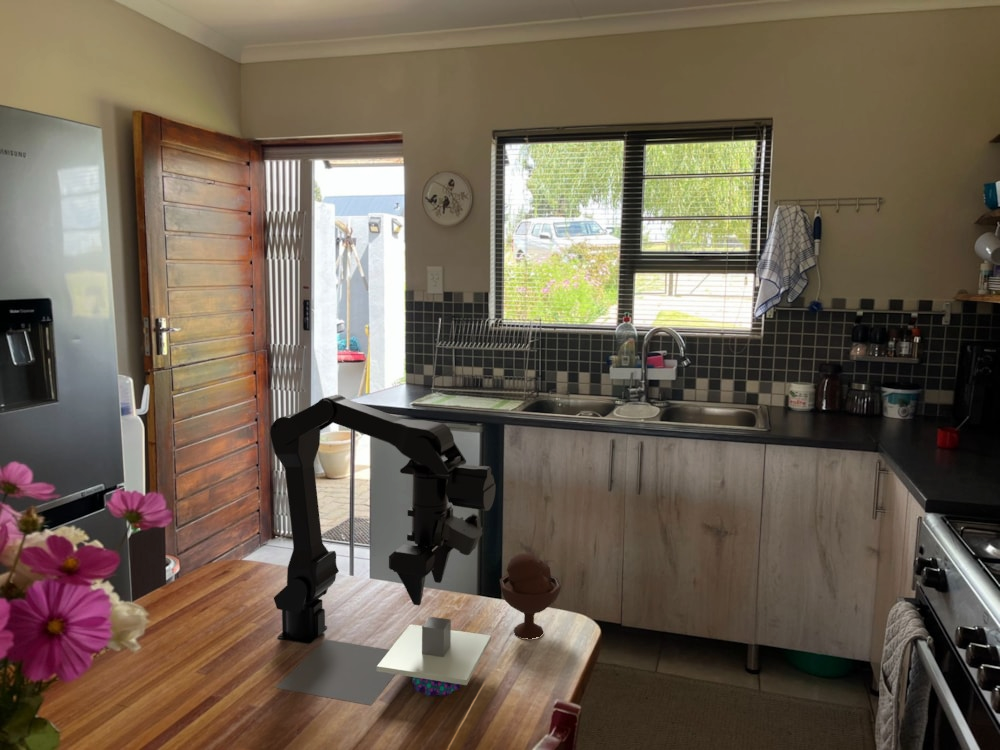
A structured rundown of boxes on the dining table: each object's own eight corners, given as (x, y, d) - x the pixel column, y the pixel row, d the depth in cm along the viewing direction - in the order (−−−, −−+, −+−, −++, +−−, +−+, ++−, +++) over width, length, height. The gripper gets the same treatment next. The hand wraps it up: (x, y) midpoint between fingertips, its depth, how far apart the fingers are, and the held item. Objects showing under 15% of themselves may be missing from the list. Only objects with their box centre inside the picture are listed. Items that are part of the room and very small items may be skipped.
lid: (376, 671, 113) (376, 637, 112) (410, 628, 126) (410, 598, 125) (466, 685, 109) (467, 650, 109) (490, 640, 123) (491, 609, 122)
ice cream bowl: (555, 650, 130) (558, 567, 128) (492, 642, 132) (494, 560, 130) (563, 622, 140) (565, 545, 138) (504, 616, 142) (505, 539, 140)
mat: (275, 690, 116) (275, 687, 116) (325, 641, 131) (325, 639, 131) (371, 707, 112) (371, 705, 112) (411, 655, 127) (411, 653, 127)
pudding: (489, 681, 120) (490, 650, 119) (444, 718, 110) (445, 684, 109) (430, 659, 127) (430, 630, 126) (382, 692, 116) (382, 660, 116)
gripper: (457, 526, 111) (454, 626, 113) (494, 491, 128) (491, 578, 131) (387, 516, 114) (386, 614, 116) (433, 484, 132) (431, 569, 134)
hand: (427, 593), depth 124 cm, fingers open, 9 cm apart
